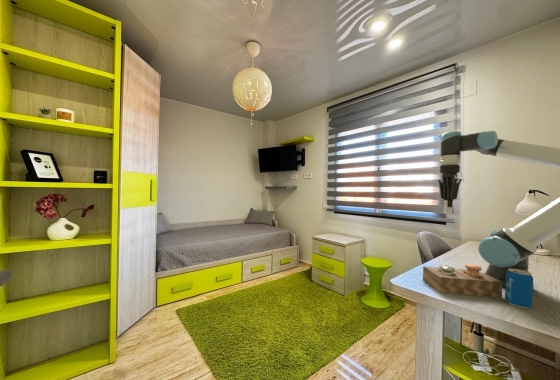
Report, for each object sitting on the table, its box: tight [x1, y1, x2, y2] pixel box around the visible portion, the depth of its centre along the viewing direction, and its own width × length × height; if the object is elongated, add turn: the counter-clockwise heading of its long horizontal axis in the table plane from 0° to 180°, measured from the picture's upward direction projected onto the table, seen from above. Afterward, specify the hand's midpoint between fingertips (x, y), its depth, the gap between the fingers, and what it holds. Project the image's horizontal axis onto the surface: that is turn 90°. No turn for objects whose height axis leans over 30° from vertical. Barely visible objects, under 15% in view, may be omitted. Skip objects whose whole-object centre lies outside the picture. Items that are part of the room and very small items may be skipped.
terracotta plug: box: [464, 263, 482, 277], centre depth 88 cm, size 5×5×7 cm
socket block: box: [422, 265, 503, 299], centre depth 88 cm, size 22×12×6 cm, turn 84°
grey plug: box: [438, 264, 456, 275], centre depth 89 cm, size 5×5×7 cm
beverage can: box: [504, 269, 534, 310], centre depth 76 cm, size 6×6×12 cm
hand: (447, 213), depth 103 cm, fingers closed
